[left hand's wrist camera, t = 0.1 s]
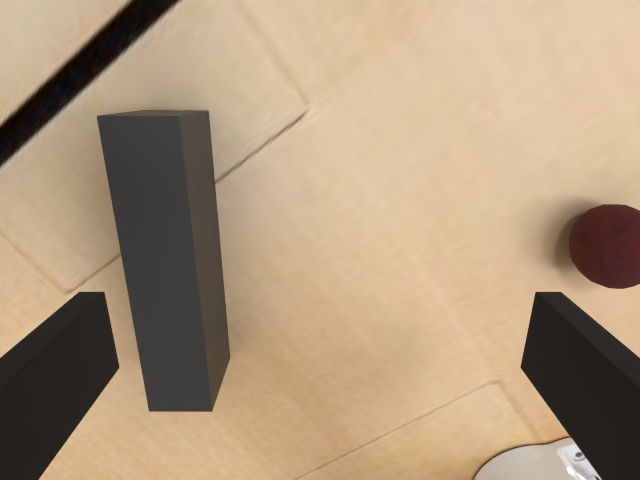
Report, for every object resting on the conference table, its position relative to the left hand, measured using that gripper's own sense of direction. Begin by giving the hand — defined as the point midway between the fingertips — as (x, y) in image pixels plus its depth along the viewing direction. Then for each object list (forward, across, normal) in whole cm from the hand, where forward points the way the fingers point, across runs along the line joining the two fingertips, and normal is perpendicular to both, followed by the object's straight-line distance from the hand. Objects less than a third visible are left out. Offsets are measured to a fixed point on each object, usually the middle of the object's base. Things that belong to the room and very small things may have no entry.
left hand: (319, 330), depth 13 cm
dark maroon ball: (+28, +27, -6) cm, 39 cm away
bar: (+28, -13, -8) cm, 32 cm away
